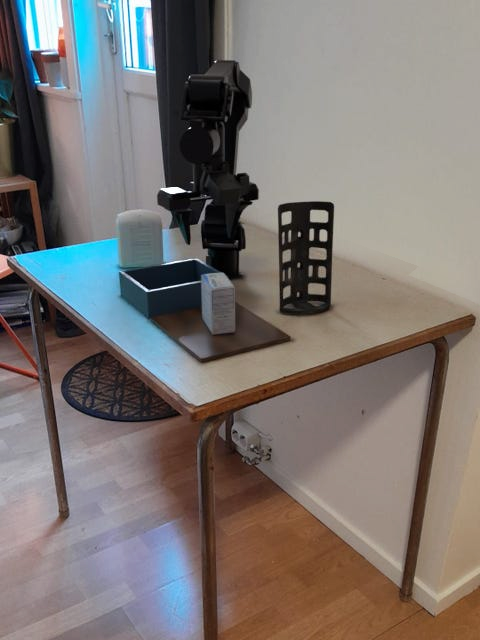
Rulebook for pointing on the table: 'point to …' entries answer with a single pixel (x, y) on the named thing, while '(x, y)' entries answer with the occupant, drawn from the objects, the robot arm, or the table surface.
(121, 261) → the grey rounded block
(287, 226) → the holder
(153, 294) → the tote
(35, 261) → the table surface
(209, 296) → the medicine box
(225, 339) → the board
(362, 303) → the table surface
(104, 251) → the table surface
